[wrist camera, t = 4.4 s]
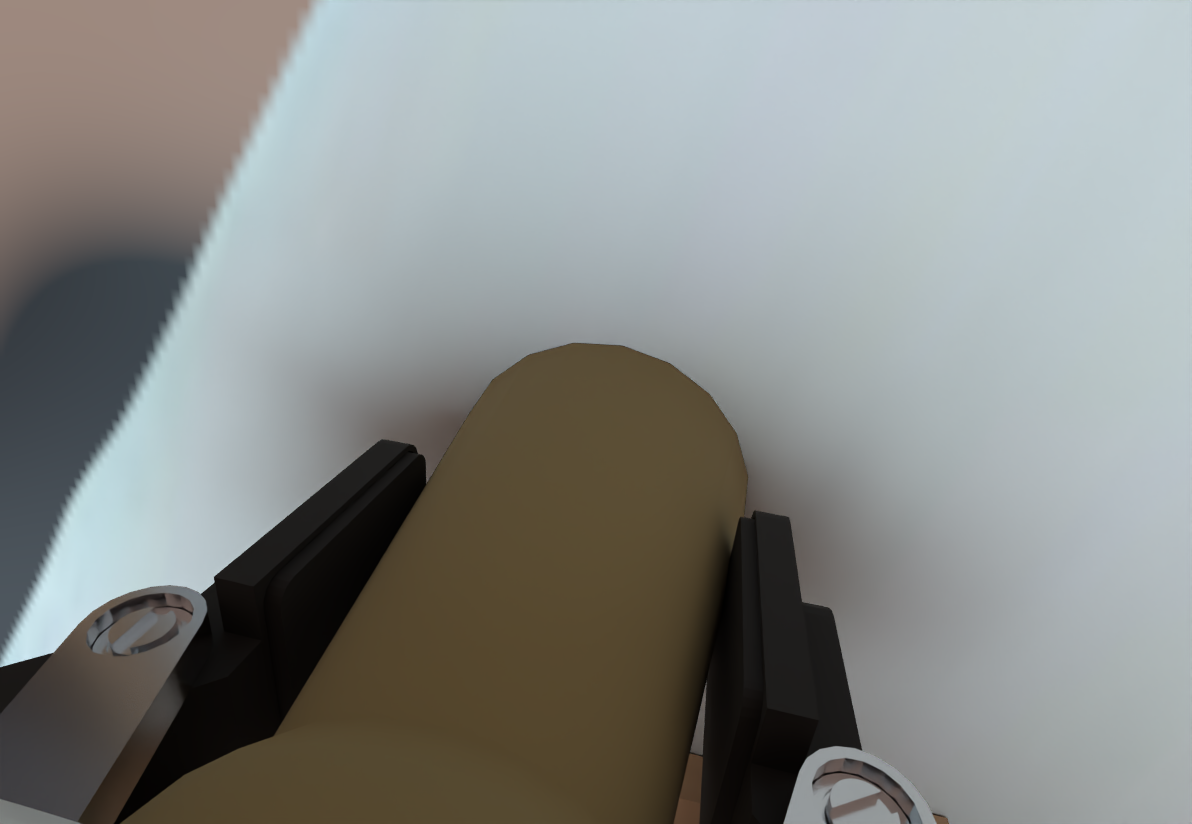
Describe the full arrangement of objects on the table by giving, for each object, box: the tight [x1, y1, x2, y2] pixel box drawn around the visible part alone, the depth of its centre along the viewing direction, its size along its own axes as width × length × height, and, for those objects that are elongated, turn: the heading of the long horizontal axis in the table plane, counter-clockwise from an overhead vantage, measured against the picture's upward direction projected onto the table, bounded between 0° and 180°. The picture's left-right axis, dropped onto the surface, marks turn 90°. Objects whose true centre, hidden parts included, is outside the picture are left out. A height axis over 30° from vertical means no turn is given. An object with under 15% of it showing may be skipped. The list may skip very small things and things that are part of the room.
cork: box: [120, 343, 748, 824], centre depth 8 cm, size 6×6×11 cm
